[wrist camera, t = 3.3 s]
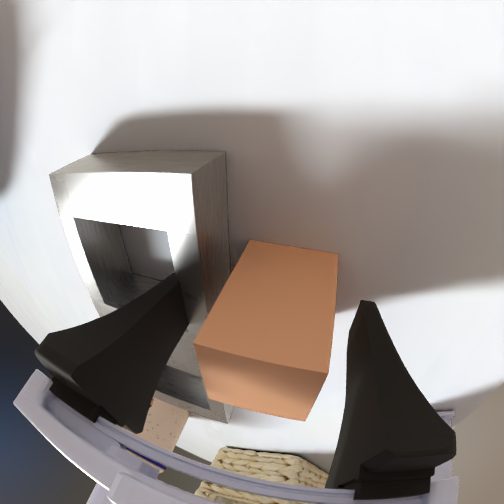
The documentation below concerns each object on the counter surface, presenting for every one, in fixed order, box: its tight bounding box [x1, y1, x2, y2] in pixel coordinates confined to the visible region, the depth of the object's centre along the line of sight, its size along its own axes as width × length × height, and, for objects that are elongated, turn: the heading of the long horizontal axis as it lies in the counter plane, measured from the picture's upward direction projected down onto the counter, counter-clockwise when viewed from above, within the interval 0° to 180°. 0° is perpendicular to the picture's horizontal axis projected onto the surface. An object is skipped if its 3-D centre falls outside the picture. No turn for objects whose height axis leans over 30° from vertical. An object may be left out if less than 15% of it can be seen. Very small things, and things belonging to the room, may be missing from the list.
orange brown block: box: [193, 240, 338, 421], centre depth 11 cm, size 4×4×6 cm
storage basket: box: [195, 447, 329, 504], centre depth 31 cm, size 24×16×15 cm
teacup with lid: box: [116, 397, 189, 473], centre depth 25 cm, size 12×9×12 cm
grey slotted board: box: [49, 150, 234, 424], centre depth 16 cm, size 20×8×3 cm, turn 0°
